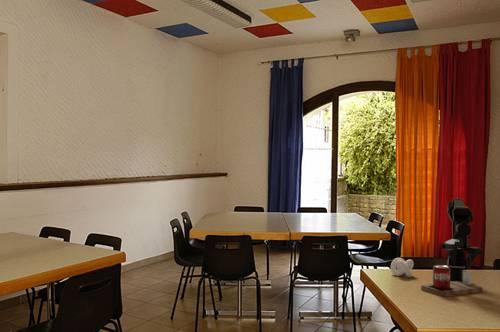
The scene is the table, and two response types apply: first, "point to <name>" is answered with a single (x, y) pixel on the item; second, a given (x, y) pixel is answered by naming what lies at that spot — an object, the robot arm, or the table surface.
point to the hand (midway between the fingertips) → (461, 266)
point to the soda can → (441, 277)
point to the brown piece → (455, 287)
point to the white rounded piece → (402, 267)
